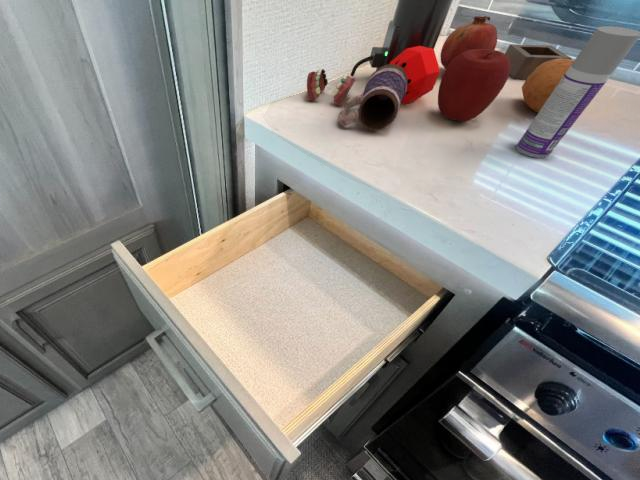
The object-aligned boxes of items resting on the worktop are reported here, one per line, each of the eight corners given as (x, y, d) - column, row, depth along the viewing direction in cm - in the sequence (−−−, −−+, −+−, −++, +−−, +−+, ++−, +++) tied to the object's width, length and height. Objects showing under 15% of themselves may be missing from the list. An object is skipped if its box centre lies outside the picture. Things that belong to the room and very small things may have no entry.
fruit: (457, 86, 68) (485, 25, 60) (422, 71, 73) (444, 13, 65) (492, 77, 71) (524, 18, 63) (456, 64, 76) (481, 8, 68)
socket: (513, 78, 70) (526, 56, 67) (498, 65, 76) (509, 44, 72) (556, 80, 70) (571, 58, 66) (538, 66, 75) (551, 45, 72)
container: (540, 144, 52) (627, 26, 41) (554, 158, 50) (653, 36, 38) (510, 142, 53) (588, 25, 41) (523, 157, 50) (610, 35, 38)
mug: (408, 56, 55) (400, 83, 48) (408, 101, 59) (401, 130, 53) (347, 74, 60) (332, 100, 53) (351, 114, 65) (338, 142, 58)
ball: (374, 71, 62) (409, 41, 55) (400, 64, 65) (437, 35, 58) (387, 112, 63) (423, 88, 56) (412, 104, 66) (450, 80, 59)
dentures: (353, 77, 57) (305, 71, 60) (346, 107, 61) (301, 100, 64) (360, 69, 61) (314, 64, 64) (353, 97, 65) (310, 91, 67)
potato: (568, 104, 62) (602, 58, 56) (570, 128, 56) (608, 78, 50) (514, 95, 65) (541, 49, 59) (510, 116, 59) (540, 68, 53)
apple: (416, 115, 59) (443, 48, 51) (445, 101, 62) (474, 37, 55) (465, 134, 54) (503, 63, 46) (493, 118, 58) (533, 50, 50)
